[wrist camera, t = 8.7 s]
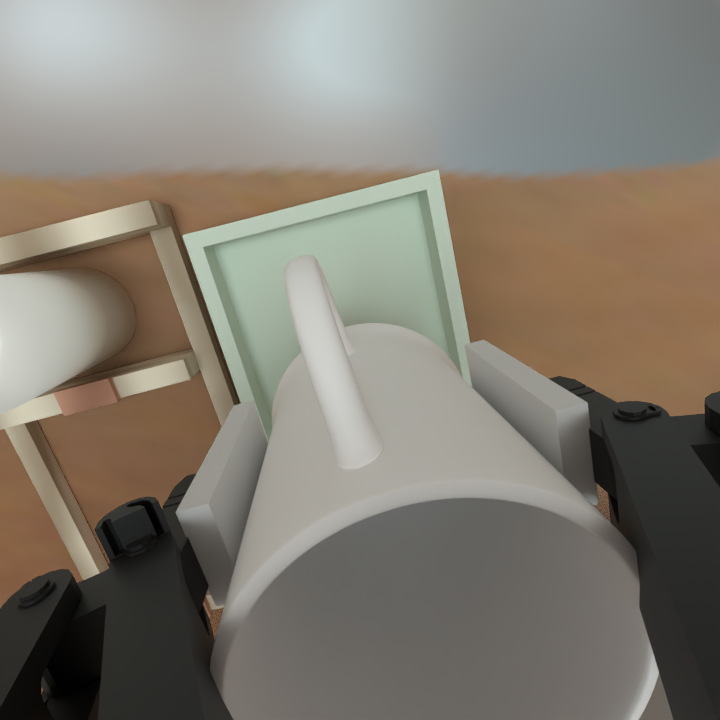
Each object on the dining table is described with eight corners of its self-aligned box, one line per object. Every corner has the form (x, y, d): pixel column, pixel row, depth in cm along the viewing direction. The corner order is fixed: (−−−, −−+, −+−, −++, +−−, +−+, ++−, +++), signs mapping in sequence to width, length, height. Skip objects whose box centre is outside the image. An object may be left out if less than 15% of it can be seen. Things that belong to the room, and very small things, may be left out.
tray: (281, 482, 30) (277, 507, 27) (198, 236, 25) (182, 235, 22) (473, 430, 30) (489, 450, 27) (425, 178, 25) (438, 169, 22)
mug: (219, 274, 17) (-2, 343, 5) (430, 218, 17) (656, 168, 5) (304, 523, 20) (279, 901, 9) (481, 476, 20) (691, 785, 9)
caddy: (110, 607, 31) (85, 651, 28) (-65, 264, 24) (-125, 267, 21) (292, 558, 31) (289, 595, 28) (169, 205, 25) (145, 198, 21)
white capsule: (61, 369, 26) (-66, 430, 18) (21, 281, 25) (-140, 300, 16) (150, 346, 26) (67, 396, 18) (114, 257, 25) (5, 263, 16)
